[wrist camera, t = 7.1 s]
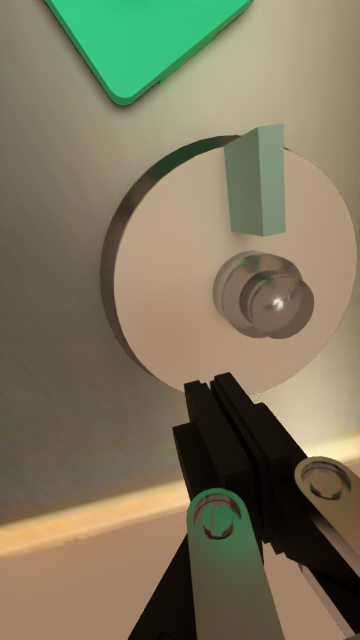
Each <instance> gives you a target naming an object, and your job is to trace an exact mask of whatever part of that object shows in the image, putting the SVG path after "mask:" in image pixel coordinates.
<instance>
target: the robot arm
mask: <svg viewBox="0 0 360 640" xmlns="http://www.w3.org/2000/svg"><path fill="white" fill-rule="evenodd" d="M184 391H185V397H186V403H187V408H188V414H189V420H190V422H189V423H186V424H182V425H178V426H175V427H172V429H173V435H174V440H175V445H176V449H177V453H178V458H179V462H180V466H181V469H182V473H183V477H184V480H185V484H186V487H187V491H188V494H189V498H190V501H191V503H190V505H189V508H188V510H187V532H188V533H187V534H186V536H185V538H184V540H183V542H182V543H181V545H180V547H179V549H178V550H177V552H176V554H175V556H174V558H173V559H172V561H171V563H170V565H169V567H168V568H167V570H166V572H165V574H164V575H163V577H162V579H161V581H160V582H159V584H158V586H157V588H156V590H155V592H154V593H153V595H152V597H151V598H150V600H149V602H148V604H147V606H146V608H145V609H144V611H143V613H142V614H141V616H140V618H139V620H138V622H137V623H136V625H135V627H134V629H133V630H132V632H131V634H130V636H129V638H128V640H285V638H284V635H283V632H282V628H281V625H280V621H279V618H278V614H277V611H276V607H275V604H274V601H273V597H272V594H271V590H270V587H269V584H268V580H267V576H266V573H265V570H264V560H263V547H262V541H263V542H264V543H265V544H266V543H269V542H270V543H271V545H272V547H273V550H274V551H275V553H276V555H277V554H280V553H283V552H284V553H285V555H286V557H287V558H289V559H291V560H293V561H295V562H297V563H298V566H299V568H300V570H301V572H302V574H303V575H304V577H305V578H306V580H307V581H308V583H309V584H310V586H311V587H312V589H313V590H314V591H315V593H316V594H317V596H318V597H319V599H320V600H321V602H322V603H323V604H324V606H325V607H326V609H327V610H328V612H329V613H330V615H331V616H332V617H333V619H334V620H335V622H336V623H337V625H338V626H339V628H340V629H341V631H342V632H343V634H344V635H345V636H346V638H347V639H345V640H360V478H359V477H358V476H357V475H356V474H355V473H354V472H352V471H351V470H350V469H349V468H348V467H346V466H345V465H343V464H342V463H340V462H338V461H336V460H334V459H331V458H327V457H322V456H319V457H310V458H308V457H307V455H306V454H305V453H304V452H303V450H302V449H301V448H300V447H299V445H298V444H297V443H296V442H295V440H294V439H293V438H292V437H291V435H290V434H289V433H288V432H287V431H286V429H285V428H284V427H283V426H282V424H281V423H280V422H279V421H278V419H277V418H276V417H275V416H274V414H273V413H272V412H271V411H270V409H269V408H268V407H267V406H266V405H265V404H264V403H262V402H261V403H257V404H254V403H253V402H252V401H251V399H250V398H249V397H248V395H247V394H246V393H245V391H244V390H243V389H242V387H241V386H240V385H239V383H238V382H237V381H236V379H235V378H234V377H233V375H232V374H231V373H230V372H227V373H223V374H219V375H215V376H214V380H212V381H210V389H209V387H208V385H207V383H206V382H205V383H201V382H200V381H199V380H196V381H192V382H188V383H184Z"/></svg>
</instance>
